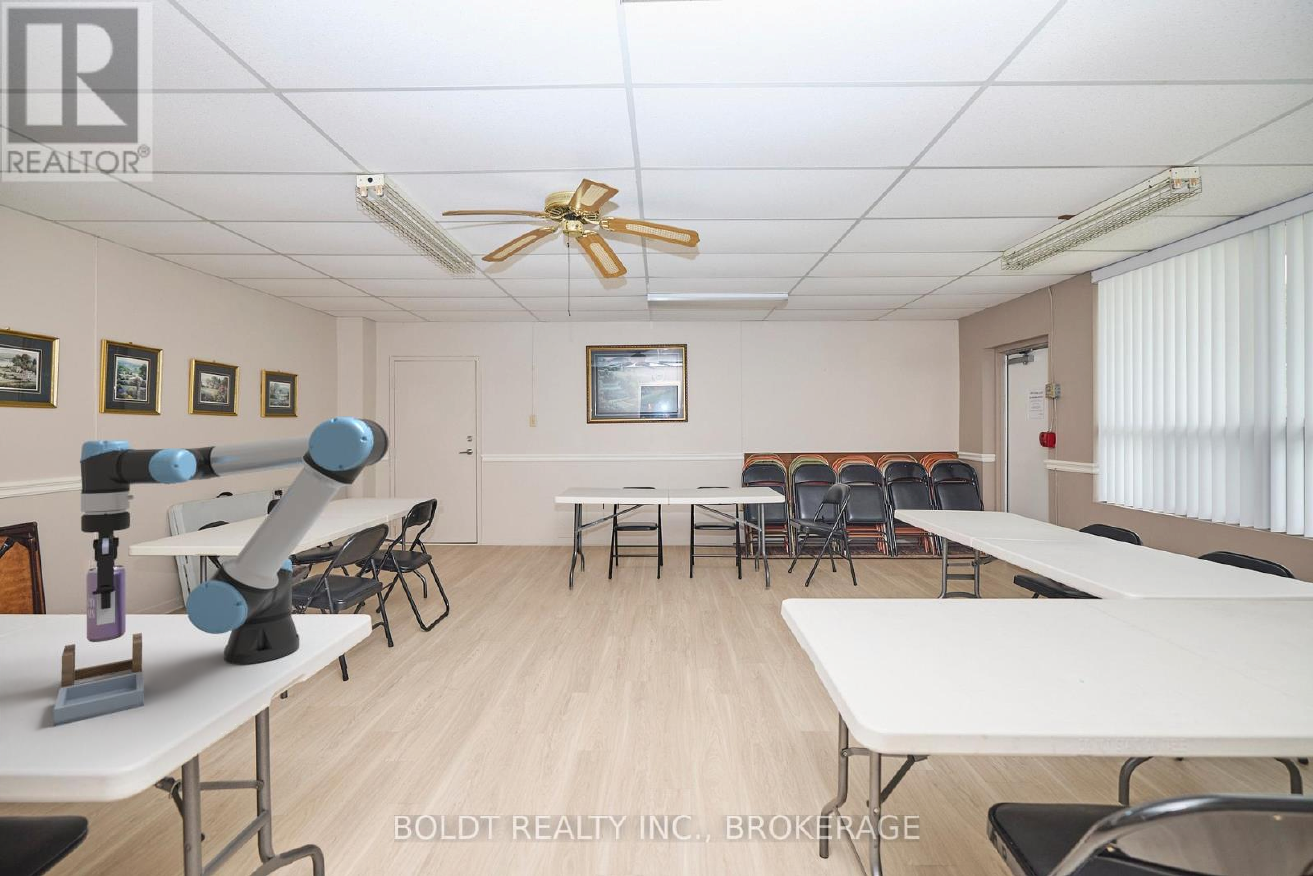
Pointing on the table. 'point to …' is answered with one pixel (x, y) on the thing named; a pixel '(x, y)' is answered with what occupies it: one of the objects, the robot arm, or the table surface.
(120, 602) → the beverage can
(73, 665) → the bracket
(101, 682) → the tray
